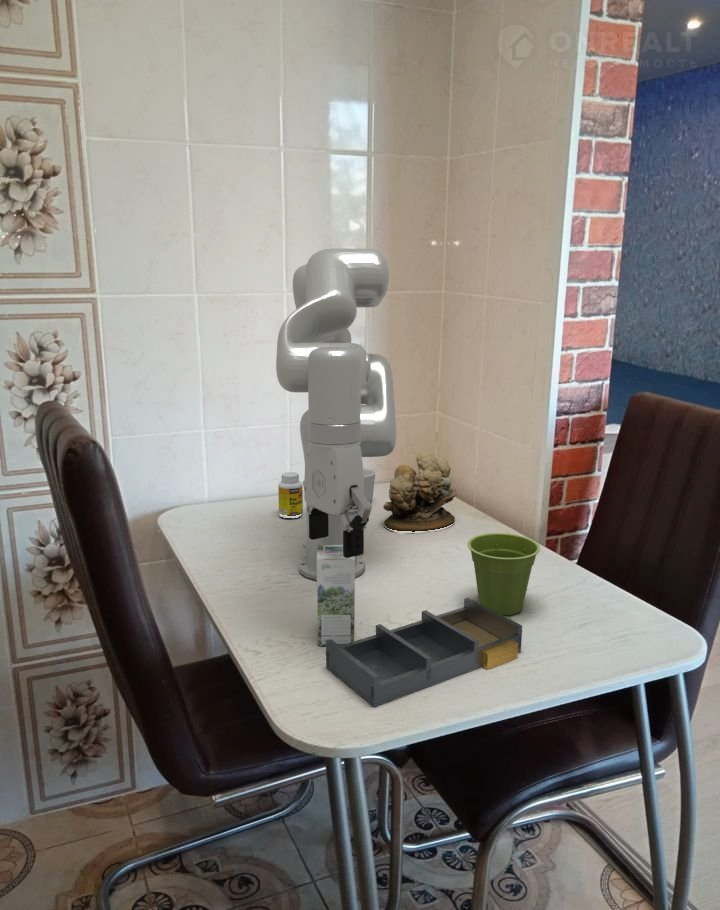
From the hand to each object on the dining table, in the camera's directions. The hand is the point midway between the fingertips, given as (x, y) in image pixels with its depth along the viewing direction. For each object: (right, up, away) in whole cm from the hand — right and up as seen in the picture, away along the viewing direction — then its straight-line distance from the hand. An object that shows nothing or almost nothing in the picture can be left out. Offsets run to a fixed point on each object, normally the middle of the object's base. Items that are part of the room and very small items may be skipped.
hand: (335, 546), depth 111 cm
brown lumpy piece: (+18, -2, +58) cm, 60 cm away
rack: (+13, -16, -2) cm, 21 cm away
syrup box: (0, -15, +4) cm, 15 cm away
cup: (+2, +2, +73) cm, 73 cm away
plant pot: (+27, -12, +15) cm, 34 cm away
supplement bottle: (-12, -1, +63) cm, 64 cm away
